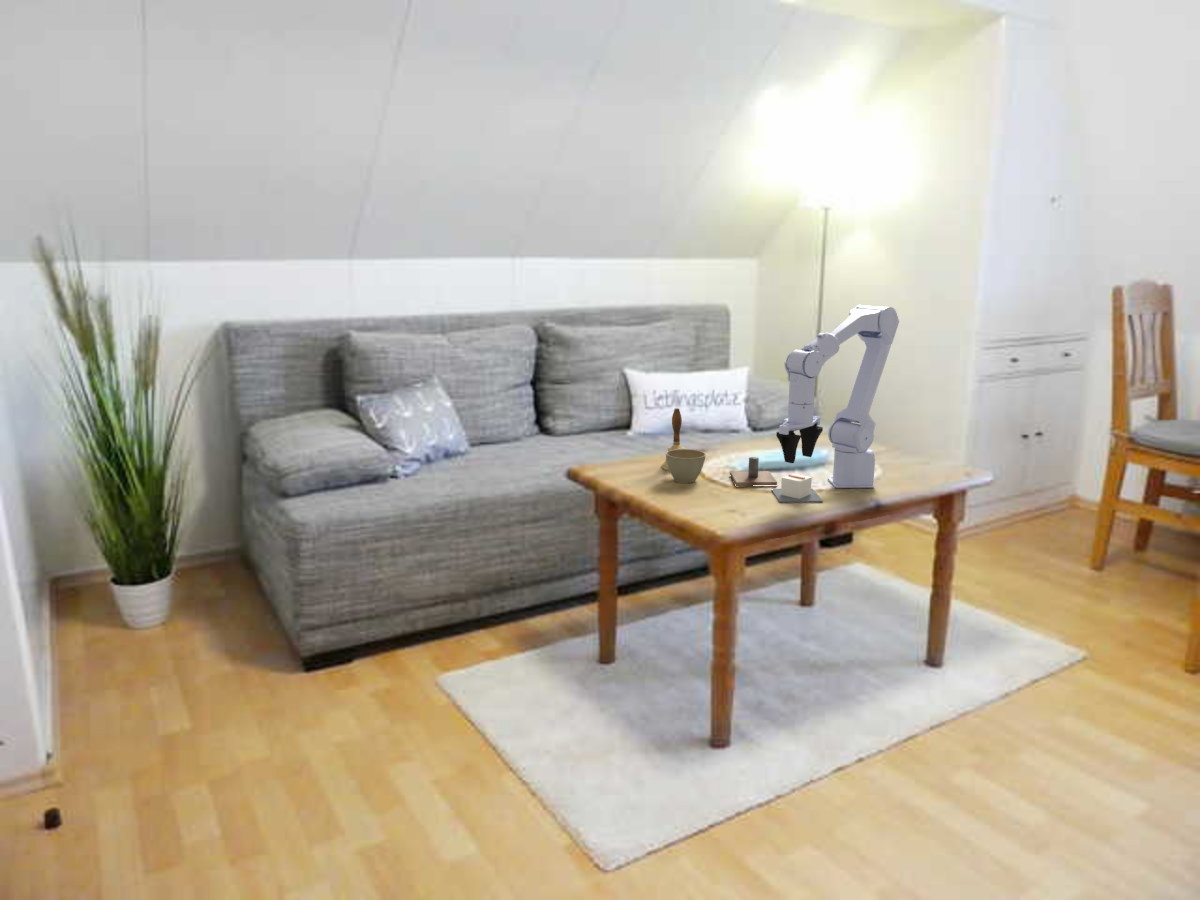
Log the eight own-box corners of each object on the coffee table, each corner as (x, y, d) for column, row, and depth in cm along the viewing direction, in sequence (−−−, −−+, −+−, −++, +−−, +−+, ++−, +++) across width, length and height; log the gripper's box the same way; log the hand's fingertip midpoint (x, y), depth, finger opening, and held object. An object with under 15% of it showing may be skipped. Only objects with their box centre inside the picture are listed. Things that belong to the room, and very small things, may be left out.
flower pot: (703, 487, 211) (703, 459, 209) (662, 485, 213) (663, 457, 211) (706, 476, 221) (707, 449, 219) (668, 474, 223) (668, 447, 221)
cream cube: (810, 494, 203) (811, 476, 202) (799, 498, 200) (800, 480, 199) (792, 490, 207) (793, 472, 206) (780, 494, 203) (781, 476, 202)
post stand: (768, 475, 221) (769, 453, 219) (776, 486, 211) (777, 463, 210) (730, 475, 221) (730, 453, 219) (736, 487, 211) (737, 463, 210)
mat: (812, 490, 208) (812, 488, 208) (822, 502, 198) (822, 500, 198) (771, 490, 208) (771, 488, 208) (779, 502, 198) (779, 501, 198)
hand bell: (654, 467, 229) (655, 409, 225) (672, 461, 235) (673, 404, 231) (680, 473, 224) (681, 413, 220) (698, 466, 230) (699, 408, 226)
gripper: (803, 396, 206) (800, 450, 209) (768, 404, 196) (766, 462, 199) (829, 399, 201) (826, 455, 204) (795, 408, 191) (792, 467, 194)
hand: (798, 459), depth 201 cm, fingers open, 7 cm apart
